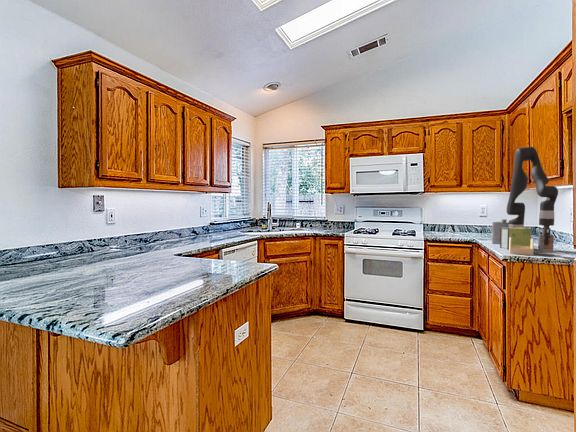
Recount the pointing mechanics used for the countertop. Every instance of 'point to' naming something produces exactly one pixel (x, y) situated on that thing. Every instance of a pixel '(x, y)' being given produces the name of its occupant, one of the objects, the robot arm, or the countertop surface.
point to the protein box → (515, 237)
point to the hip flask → (498, 230)
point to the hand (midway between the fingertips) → (545, 244)
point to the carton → (521, 248)
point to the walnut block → (541, 242)
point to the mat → (545, 254)
